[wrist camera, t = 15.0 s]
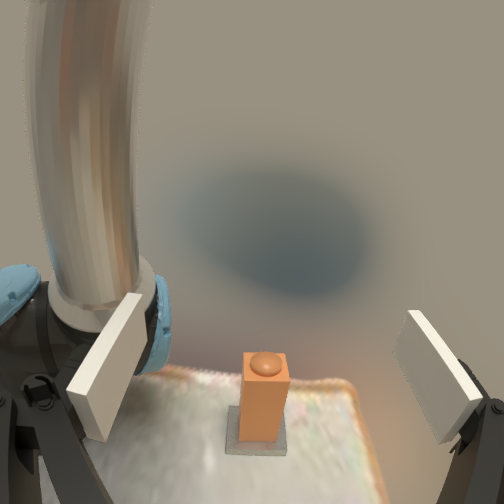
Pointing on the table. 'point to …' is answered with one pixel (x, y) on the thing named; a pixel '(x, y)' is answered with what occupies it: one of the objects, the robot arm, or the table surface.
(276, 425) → the orange capped block
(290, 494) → the table surface
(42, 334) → the robot arm
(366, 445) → the table surface
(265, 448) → the junction plate
